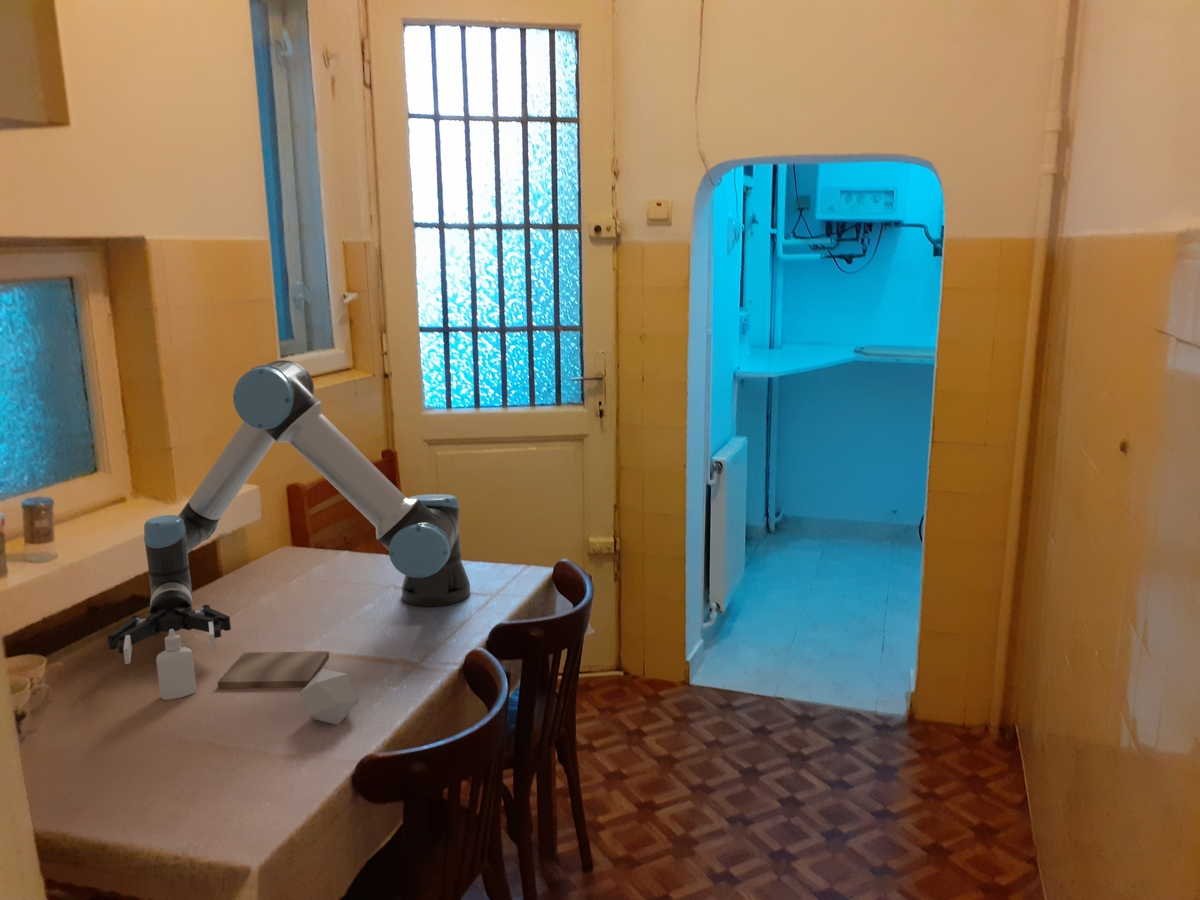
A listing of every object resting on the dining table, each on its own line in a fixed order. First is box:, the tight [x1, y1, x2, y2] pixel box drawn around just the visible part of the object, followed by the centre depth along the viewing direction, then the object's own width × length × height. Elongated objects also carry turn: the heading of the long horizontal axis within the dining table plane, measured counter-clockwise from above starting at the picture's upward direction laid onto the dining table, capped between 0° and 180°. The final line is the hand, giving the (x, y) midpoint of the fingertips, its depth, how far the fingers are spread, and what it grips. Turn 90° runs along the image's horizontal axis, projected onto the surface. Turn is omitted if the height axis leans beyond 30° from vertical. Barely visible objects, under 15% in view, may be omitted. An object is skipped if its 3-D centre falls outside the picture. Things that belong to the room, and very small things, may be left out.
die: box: [299, 668, 360, 726], centre depth 142 cm, size 8×9×10 cm
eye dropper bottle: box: [155, 629, 197, 701], centre depth 150 cm, size 4×6×12 cm
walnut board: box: [217, 650, 330, 689], centre depth 159 cm, size 16×12×1 cm
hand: (170, 648), depth 153 cm, fingers open, 13 cm apart
